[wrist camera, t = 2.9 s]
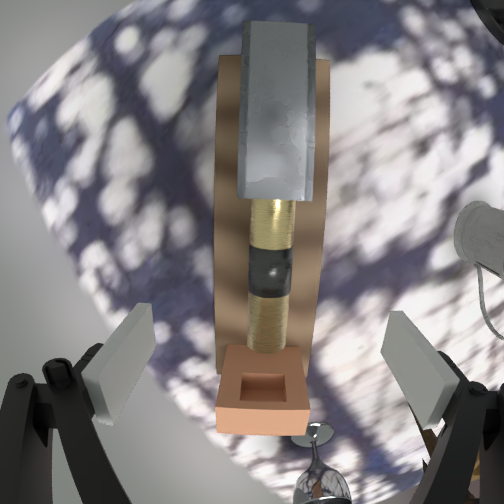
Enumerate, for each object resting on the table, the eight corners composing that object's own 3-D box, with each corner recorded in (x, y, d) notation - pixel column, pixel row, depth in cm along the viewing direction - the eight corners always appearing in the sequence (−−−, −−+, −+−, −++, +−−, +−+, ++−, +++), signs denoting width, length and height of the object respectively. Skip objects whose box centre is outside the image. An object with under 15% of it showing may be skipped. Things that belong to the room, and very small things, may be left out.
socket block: (227, 344, 37) (215, 406, 26) (299, 346, 37) (310, 409, 26) (227, 369, 39) (217, 432, 27) (296, 371, 38) (304, 435, 27)
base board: (220, 58, 29) (219, 55, 28) (327, 63, 29) (329, 60, 28) (217, 369, 40) (216, 374, 39) (305, 372, 39) (306, 377, 39)
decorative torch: (425, 380, 40) (506, 527, 11) (430, 404, 41) (499, 537, 12) (388, 401, 41) (450, 560, 12) (396, 422, 42) (450, 564, 14)
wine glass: (322, 413, 42) (337, 491, 27) (344, 436, 43) (360, 506, 29) (279, 433, 43) (281, 510, 29) (303, 454, 45) (310, 523, 30)
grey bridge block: (249, 62, 28) (243, 20, 18) (299, 65, 28) (314, 24, 18) (245, 188, 32) (236, 198, 22) (296, 190, 32) (312, 201, 22)
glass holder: (503, 212, 32) (577, 237, 18) (472, 303, 36) (532, 354, 22) (464, 191, 32) (546, 211, 18) (431, 293, 36) (494, 350, 21)
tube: (255, 51, 23) (254, 35, 19) (297, 53, 23) (302, 37, 19) (247, 332, 30) (245, 353, 26) (284, 333, 30) (286, 354, 26)
